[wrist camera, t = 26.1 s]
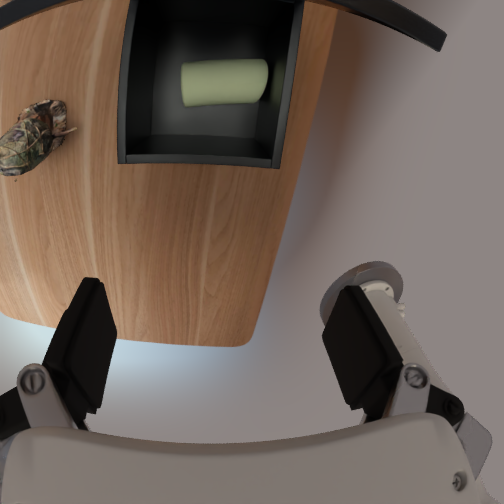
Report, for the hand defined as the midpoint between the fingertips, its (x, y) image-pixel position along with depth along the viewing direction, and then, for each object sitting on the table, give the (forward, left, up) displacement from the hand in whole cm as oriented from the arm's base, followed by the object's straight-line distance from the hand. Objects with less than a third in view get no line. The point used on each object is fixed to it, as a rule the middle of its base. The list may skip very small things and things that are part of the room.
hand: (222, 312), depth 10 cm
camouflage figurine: (+23, -4, -25) cm, 34 cm away
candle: (+4, -8, -22) cm, 24 cm away
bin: (+2, -9, -25) cm, 27 cm away
